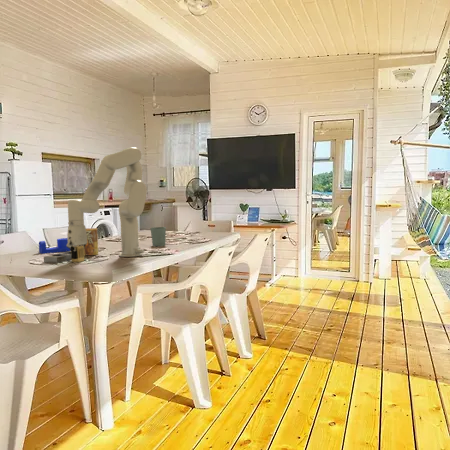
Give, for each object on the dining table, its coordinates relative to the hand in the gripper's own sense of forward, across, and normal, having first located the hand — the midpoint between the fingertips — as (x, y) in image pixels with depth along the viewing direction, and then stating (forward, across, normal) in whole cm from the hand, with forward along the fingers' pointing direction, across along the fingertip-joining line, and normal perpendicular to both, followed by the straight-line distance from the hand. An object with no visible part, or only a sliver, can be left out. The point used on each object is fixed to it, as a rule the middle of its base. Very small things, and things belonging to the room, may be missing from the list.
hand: (77, 257), depth 213 cm
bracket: (+2, +25, +39) cm, 46 cm away
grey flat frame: (+2, +2, +11) cm, 11 cm away
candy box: (+2, +20, +9) cm, 22 cm away
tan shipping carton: (+2, 0, 0) cm, 2 cm away
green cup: (+2, +66, -9) cm, 67 cm away
